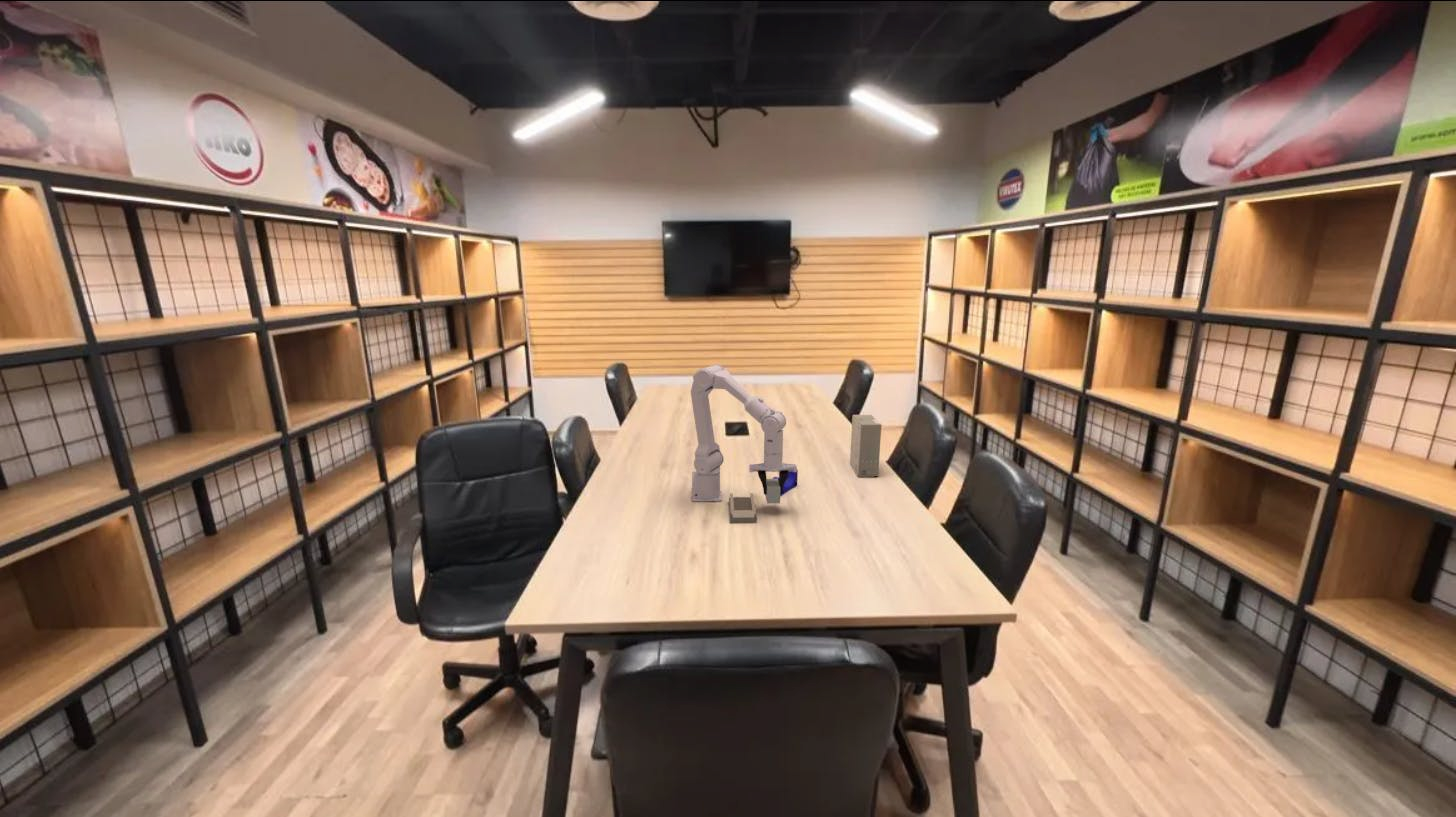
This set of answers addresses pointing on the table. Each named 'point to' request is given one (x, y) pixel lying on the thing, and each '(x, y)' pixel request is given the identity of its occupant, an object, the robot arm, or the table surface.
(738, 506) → the grey rectangular tray
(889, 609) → the table surface
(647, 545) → the table surface
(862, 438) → the hard drive box
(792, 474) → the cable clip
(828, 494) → the table surface
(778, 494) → the grey block
